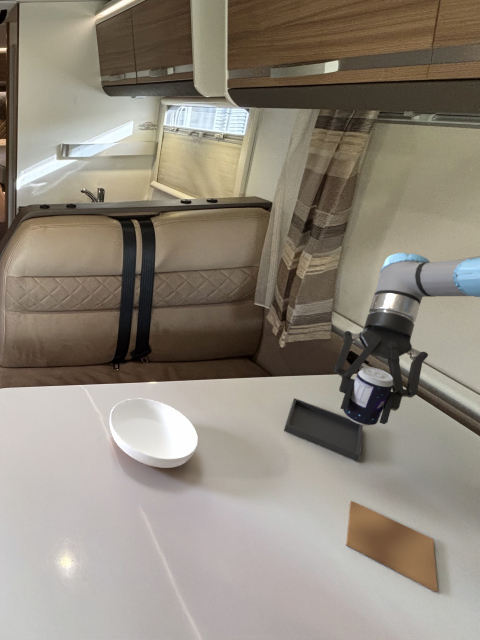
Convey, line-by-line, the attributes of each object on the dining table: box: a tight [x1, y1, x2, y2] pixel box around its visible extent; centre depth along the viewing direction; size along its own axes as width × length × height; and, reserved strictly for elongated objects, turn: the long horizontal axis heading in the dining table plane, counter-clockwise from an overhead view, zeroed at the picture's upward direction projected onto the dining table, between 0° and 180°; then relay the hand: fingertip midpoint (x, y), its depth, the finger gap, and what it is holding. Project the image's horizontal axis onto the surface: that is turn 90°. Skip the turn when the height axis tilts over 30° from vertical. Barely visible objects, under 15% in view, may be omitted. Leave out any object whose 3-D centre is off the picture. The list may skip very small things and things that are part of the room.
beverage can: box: [342, 366, 393, 427], centre depth 91 cm, size 6×6×12 cm
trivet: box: [345, 500, 439, 593], centre depth 81 cm, size 12×12×1 cm
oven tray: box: [283, 398, 364, 463], centre depth 107 cm, size 14×13×2 cm
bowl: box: [109, 397, 199, 469], centre depth 102 cm, size 20×20×6 cm
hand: (363, 414), depth 90 cm, fingers closed on beverage can, 6 cm apart
